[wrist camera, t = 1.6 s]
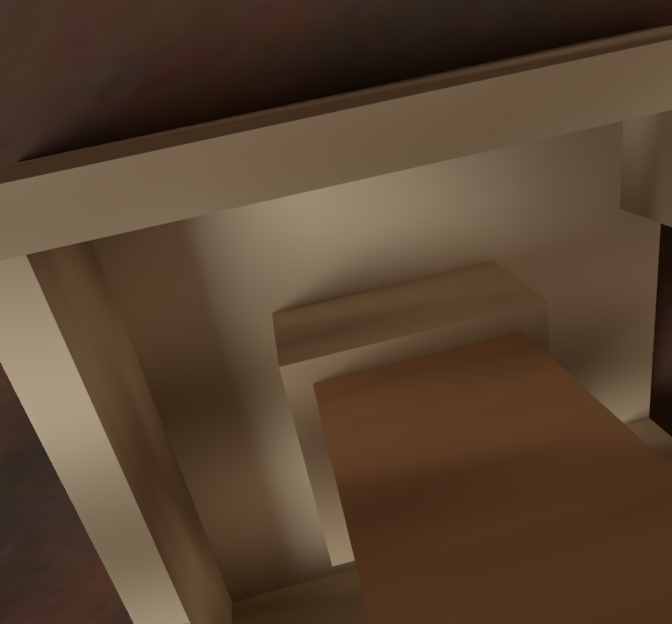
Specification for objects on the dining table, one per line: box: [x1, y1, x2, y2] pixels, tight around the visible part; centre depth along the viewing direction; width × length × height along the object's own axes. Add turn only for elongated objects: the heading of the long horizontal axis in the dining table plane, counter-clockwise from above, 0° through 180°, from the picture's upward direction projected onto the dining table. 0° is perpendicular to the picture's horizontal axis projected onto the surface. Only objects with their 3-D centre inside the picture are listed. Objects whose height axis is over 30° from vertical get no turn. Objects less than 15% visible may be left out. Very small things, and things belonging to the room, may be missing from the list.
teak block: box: [313, 332, 672, 624], centre depth 8 cm, size 4×4×6 cm
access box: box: [0, 25, 672, 624], centre depth 12 cm, size 13×13×4 cm
